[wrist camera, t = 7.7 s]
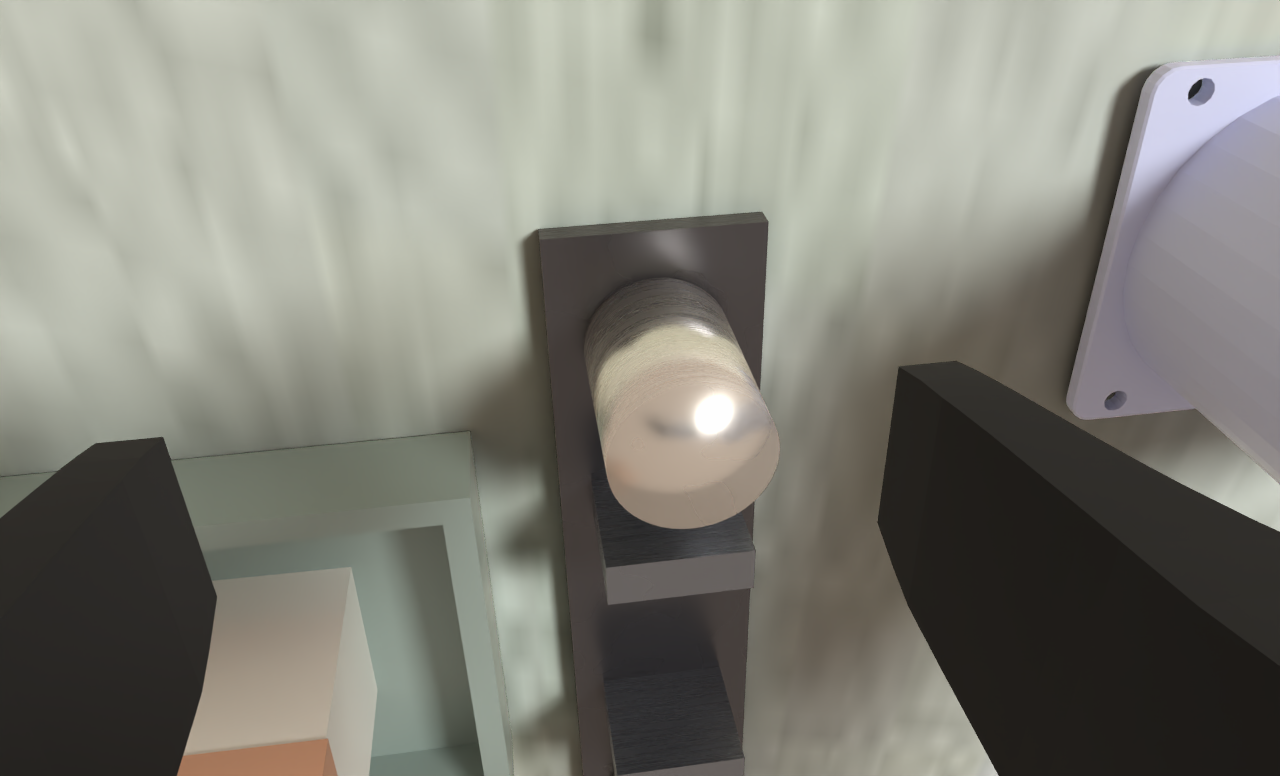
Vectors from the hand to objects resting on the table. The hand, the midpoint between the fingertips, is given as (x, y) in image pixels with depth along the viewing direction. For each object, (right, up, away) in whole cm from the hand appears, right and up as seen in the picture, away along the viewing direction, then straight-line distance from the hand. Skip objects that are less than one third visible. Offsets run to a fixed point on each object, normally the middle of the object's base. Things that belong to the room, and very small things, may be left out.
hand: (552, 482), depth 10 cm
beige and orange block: (-7, -5, +13) cm, 16 cm away
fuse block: (+1, -4, +14) cm, 15 cm away
